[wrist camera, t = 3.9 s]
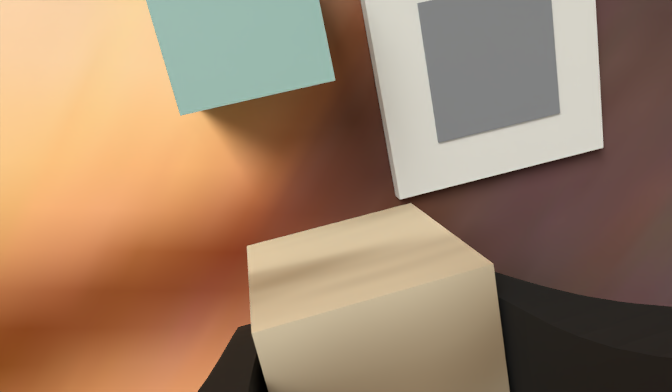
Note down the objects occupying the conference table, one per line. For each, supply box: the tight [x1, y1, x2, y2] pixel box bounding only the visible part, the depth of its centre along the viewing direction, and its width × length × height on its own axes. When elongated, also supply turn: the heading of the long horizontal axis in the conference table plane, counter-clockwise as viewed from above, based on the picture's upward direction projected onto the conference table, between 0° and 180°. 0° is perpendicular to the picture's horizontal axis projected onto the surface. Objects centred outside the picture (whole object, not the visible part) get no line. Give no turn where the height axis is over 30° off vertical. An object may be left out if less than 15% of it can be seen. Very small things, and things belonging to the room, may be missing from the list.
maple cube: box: [247, 203, 510, 392], centre depth 11 cm, size 4×4×4 cm
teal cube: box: [146, 0, 335, 115], centre depth 16 cm, size 4×4×4 cm
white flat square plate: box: [361, 0, 603, 199], centre depth 19 cm, size 9×9×1 cm
